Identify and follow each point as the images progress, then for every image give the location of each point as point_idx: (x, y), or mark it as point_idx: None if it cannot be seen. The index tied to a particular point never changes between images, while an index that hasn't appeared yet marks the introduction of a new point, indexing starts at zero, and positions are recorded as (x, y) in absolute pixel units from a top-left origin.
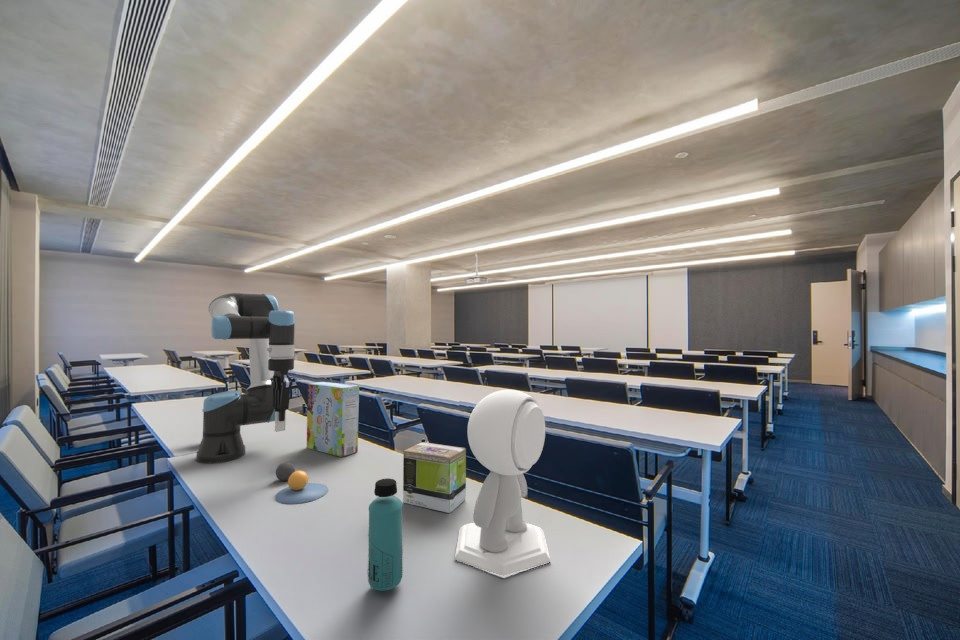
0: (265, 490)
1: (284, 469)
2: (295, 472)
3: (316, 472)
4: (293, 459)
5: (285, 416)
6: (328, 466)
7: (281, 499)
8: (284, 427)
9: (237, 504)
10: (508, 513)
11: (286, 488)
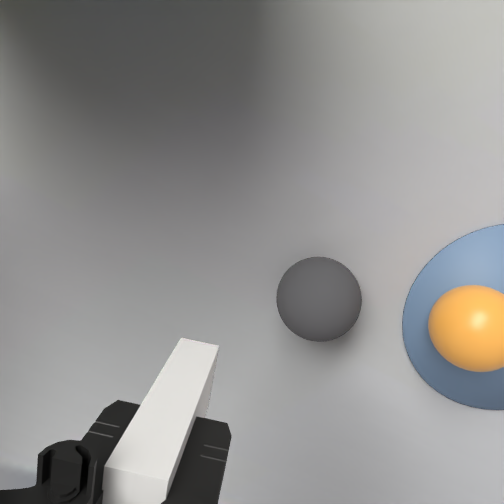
0: (349, 379)
1: (349, 327)
2: (491, 360)
3: (350, 149)
4: (86, 114)
5: (190, 424)
6: (327, 57)
7: (489, 397)
8: (213, 365)
9: (381, 481)
10: None
11: (410, 334)
